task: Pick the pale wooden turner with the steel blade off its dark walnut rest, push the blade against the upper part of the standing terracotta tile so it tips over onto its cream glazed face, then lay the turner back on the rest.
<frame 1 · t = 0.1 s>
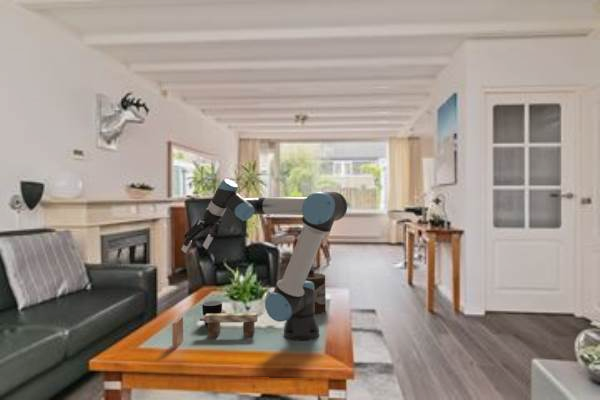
hand: (194, 249, 184), 36 cm above the table, tool tilted 35°, fingers open, 13 cm apart
mug: (212, 324, 189), on the table
turner: (231, 321, 173), point 6 cm above the table, touching tool rest
tile: (177, 344, 163), on the table
tool rest: (231, 335, 173), on the table
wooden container: (311, 311, 208), on the table
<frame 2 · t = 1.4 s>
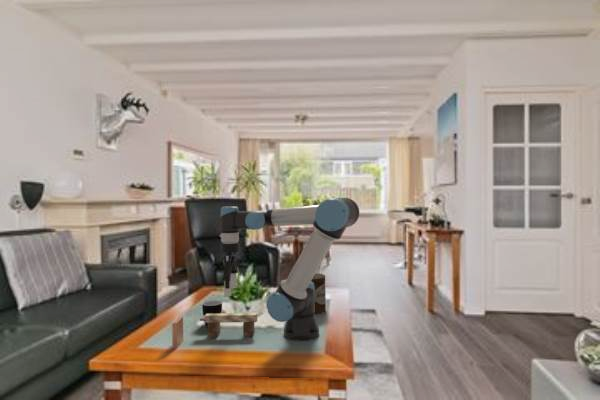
hand: (230, 292, 173), 19 cm above the table, tool pointing down, fingers open, 13 cm apart
nothing on the table moved.
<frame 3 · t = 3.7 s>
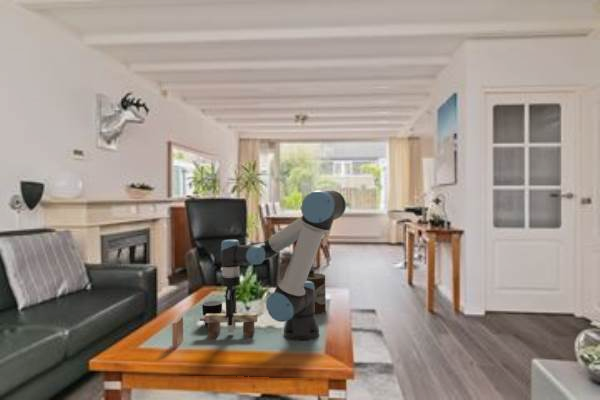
hand: (231, 330, 173), 2 cm above the table, tool pointing down, fingers closed on turner, 3 cm apart
turner: (231, 321, 173), point 6 cm above the table, touching gripper, tool rest
everything else where it was.
when the fingers open (4 cm above the table, at t = 13.7 s): turner drops 1 cm, resting on tool rest.
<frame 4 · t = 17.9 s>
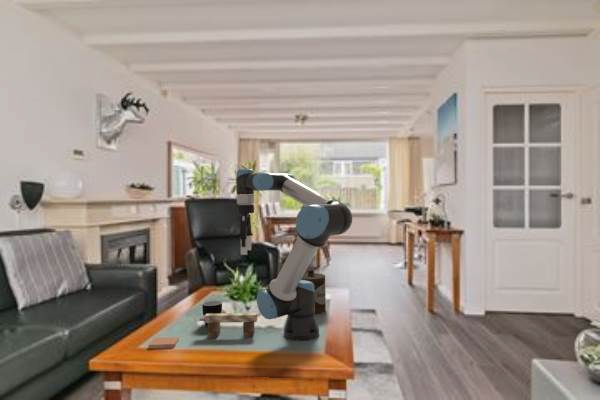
hand: (246, 252, 179), 35 cm above the table, tool pointing down, fingers open, 13 cm apart
turner: (231, 321, 173), point 6 cm above the table, touching tool rest
tile: (176, 342, 164), on the table, tilted 90°
everything else where it was.
at the end: tile tilted 90°; tile inside the target area (1.4 cm from its centre), on the table; turner 0.1 cm off-centre on the tool rest, point 6.0 cm above the tool rest's base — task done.
